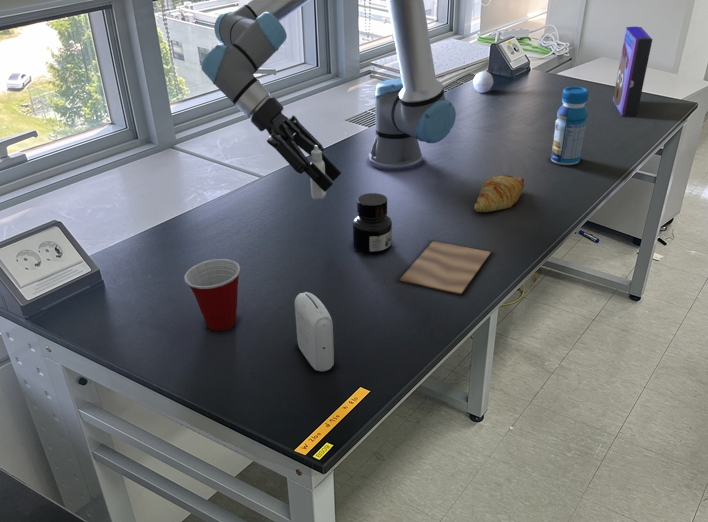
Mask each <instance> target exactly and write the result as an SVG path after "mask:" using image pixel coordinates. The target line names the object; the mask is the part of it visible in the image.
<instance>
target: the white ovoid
mask: <svg viewBox="0 0 708 522" xmlns="http://www.w3.org/2000/svg"><path fill="white" fill-rule="evenodd" d="M472 86H473V88H474V90H475V91H476V92H478V93H480V94H485V93H487V92H489V91H490V90H491V89H492V87H493V86H494V78H493V75H492V74H491V73H490V72H489V71H485V70H482V71H480V72H477V73H476V74H475V76H474V77H473V79H472Z"/></svg>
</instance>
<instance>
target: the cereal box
mask: <svg viewBox="0 0 708 522" xmlns="http://www.w3.org/2000/svg"><path fill="white" fill-rule="evenodd" d="M623 38H624V39H623V43H622V48H621V53H620V59H619V65H618V69H617V76H616V81H615V86H614V92H613V96H612V97H613V98H612V101H613V104H614V106H615V107H616V110H617V111H618V113H619V115H620V117H625V118H626V117H629V118H630V117H631V118H632V117H633V118H635V117H636V118H637V117H638V111H639V107H640V103H641V97H642V92H643V88H644V83H645V77H646V73H647V68H648V63H649V58H650V54H651V48H652V43H653V38H652V37H651V36H650V35H649V34H648V32H646V30H645V29H644V28H643V27H642V26H626V27H625V32H624V37H623Z"/></svg>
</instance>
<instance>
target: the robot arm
mask: <svg viewBox="0 0 708 522" xmlns="http://www.w3.org/2000/svg"><path fill="white" fill-rule="evenodd" d="M310 1H311V0H250V1H248V2H247V3H246V4H244V5H242V6H241V7H239V8H238V9H236V10H235V11H226V12H223V13H221V14H219V15H218V17H217V18H216V20H215V21H214V29H213V30H214V34H215V37H216V39H217V40H218V42H220V43H218V44H216V45H215V46H214V47H213V48H212V49H211V50H210V51H209V52H208V53H207V54H206V56H205V57H204V58H203V60H202V62H201V70H202V72H203V73H204V74H205V75H206V76H207V78H208V79H209V80H210V81H211V82H212V84H213V85H214V86H215V87H216V88H217V89H218V90H219V91H220V92H222V93H223V95H224V96H225V97H226V98H227V99H228V100H229V101H231V102H232V103H233V105H235V107H236V108H237V109H238V111H239V112H241V113H242V114H243V115H244V116H245V117H246V118H250V123H252V124H253V126H254V127H255V128H256V129H257V130H259V132H264V131H265V130H266V132H267V133H268V135H269V137H268V138H267V140H266V142H267V144H268V145H270V146H271V147H272V148H273V149H275V150H276V152H278V154H280V156H281V157H282V158H283V160H285V162H287V163H288V164H289V166H290V167H291V168H292V169H293V170H294V171H295V172H296V173H298V174H300V175H301V174H303V173H305V174H306V175H307V176H308V177H310V178H311V179H312V180H313V181H314V182H315V183H316V184H317V185H318V186H319V187H320V188H321V189H322V190H323V191H324V192H325V191H326V192H327V190H329V189H330V188H331V187H332V186H333V185H334V183H333V182H334V181H335V180H336V179H337V178H339V176H340V175H341V174H342V172H341V171H340V170H339V169H338V168H337V167H336V165H335V164H333V163H332V161H331V160H329V158H328V157H327V156H326V155H325V154H324V153H323V151H324V150H325V148H324V146H323V144H322V143H321V142H320V141H319V140H317V139H316V137H315V136H314V135H312V133H311V132H310V131H308V129H307V128H305V126H304V125H303V124H302V123H301V122H300V121H299V120H298V118H297V117H296V116H295V115H292V116H291V117H289V118H288V117H287V116H286V115H284V114H283V111H284V105H282V103H281V102H280V101H279V100H278V98H277V99H276V97H275V96H271V92H270V91H269V90H268V89H267V87H266V86H264V85H263V84H262V82H261V81H259V79H258V78H257V77H256V76H255V74H256V73H257V72H258V70H259V69H260V68H261V67H262V66H263V65H264V64H265V63H266V62H267V61H268V60H269V59H270V58H271V57H272V56H273V55H274V54H275V53H276V52H278V51H279V49H280V47H281V46H282V45H283V44H284V43H285V42H286V40H287V37H288V34H287V31H286V29H285V27H284V26H283V24H282V23H281V22H282V21H283V20H285V19H286V18H288V17H289V16H290V15H292V14H293V13H294V12H296V11H298V10H299V9H300V8H302V7H303V6H305V5H306V4H307V3H308V2H310ZM386 3H387V4H386V5H387V9H388V14H389V20H390V25H391V30H392V35H393V40H394V46H395V51H396V56H397V61H398V66H399V67H398V68H399V72H400V76H401V77H400V78H392V79H391V78H390V79H386V80H383V81H380V82H379V83H377V84H376V86H375V93H374V99H375V100H374V101H375V102H374V103H375V106H374V107H375V111H374V112H375V136H374V139H373V142H372V145H371V150H370V151H369V154H368V158H369V164H370V166H372V167H374V168H376V169H378V170H384V171H393V172H395V171H397V172H398V171H407V170H410V169H414V168H416V167H418V166H419V165H421V163H422V162H423V161H422V160H423V159H422V158H423V154H422V151H421V147H420V143H419V142H423V143H426V144H436V143H439V142H441V141H442V140H444V139H445V138H446V137H447V136H448V135H449V134H450V132H451V130H452V129H453V128H454V125H455V121H456V117H457V116H456V115H457V114H456V113H457V112H456V108H455V106H454V104H453V103H452V102H451V101H450V100H448V99H446V95H445V89H444V84H443V82H441V81H440V80H438V79H437V77H436V69H435V65H434V58H433V53H432V52H433V51H432V45H431V40H430V33H429V27H428V21H427V15H426V7H425V1H424V0H386ZM315 145H318V149H319V150H321V151H322V160H323V161H324V163H325V175H324V174H323V173H322V172H321V170H320V169H319V168H318V167H317V166H316V165H315V164H314V163H312V164H310V163H311V161H310V160H309V159H308V158H307V157H306V155H305V154H304V152H305V153H306V154H307V155H309V156H311V151H313V150H314V146H315ZM303 151H304V152H303Z"/></svg>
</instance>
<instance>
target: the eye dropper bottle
mask: <svg viewBox="0 0 708 522" xmlns="http://www.w3.org/2000/svg"><path fill="white" fill-rule="evenodd" d="M322 153H323V151H321V150H319V149H318V145H315V146H314V150H313V151H311V159H310V160H311V161H310V164H312V163H314V164H315V165H316V166H317V167H318V168H319V169H320V170H321V172H322V173H323V174H324V175H325V176H326V173H325V163H324V161H323V160H322ZM309 180H310V193H311V198H312V200H323V199H325V197H326V196H327V190H326V191H325V192H324V191H323V190H322V189H321V188H320V187H319V186H318V185H317V184H316V183H315V182H314V181H313V180H312V179H311V178H310V179H309Z"/></svg>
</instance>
